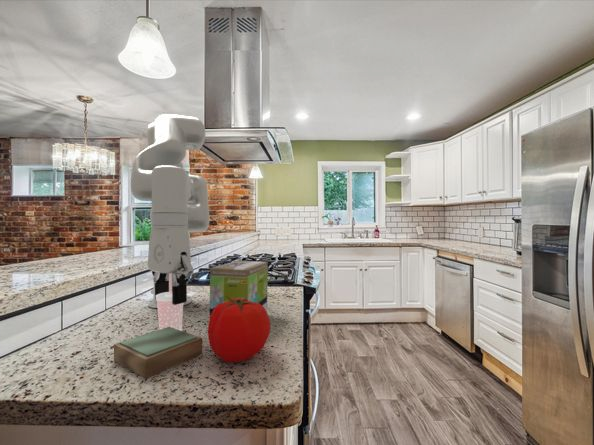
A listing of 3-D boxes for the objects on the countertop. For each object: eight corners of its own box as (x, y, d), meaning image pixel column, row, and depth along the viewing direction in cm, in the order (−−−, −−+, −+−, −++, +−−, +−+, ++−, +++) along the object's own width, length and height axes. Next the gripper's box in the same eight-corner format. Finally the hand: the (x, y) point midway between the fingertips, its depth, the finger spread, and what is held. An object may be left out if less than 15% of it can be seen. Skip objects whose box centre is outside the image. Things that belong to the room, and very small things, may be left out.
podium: (113, 360, 54) (113, 342, 54) (169, 340, 64) (169, 325, 64) (145, 378, 48) (145, 357, 48) (202, 353, 57) (202, 336, 57)
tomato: (214, 345, 61) (214, 291, 61) (270, 343, 62) (270, 289, 62) (199, 375, 49) (199, 307, 49) (269, 372, 50) (269, 305, 50)
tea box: (249, 334, 67) (248, 268, 68) (208, 331, 69) (207, 267, 70) (268, 314, 82) (268, 260, 82) (234, 312, 84) (234, 259, 84)
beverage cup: (170, 327, 72) (170, 269, 72) (190, 331, 69) (190, 270, 69) (149, 337, 66) (149, 273, 66) (171, 340, 64) (170, 275, 64)
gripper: (133, 221, 69) (134, 299, 69) (177, 221, 60) (178, 311, 60) (164, 221, 76) (164, 292, 76) (208, 221, 66) (208, 303, 66)
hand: (170, 300), depth 68 cm, fingers closed on beverage cup, 6 cm apart
